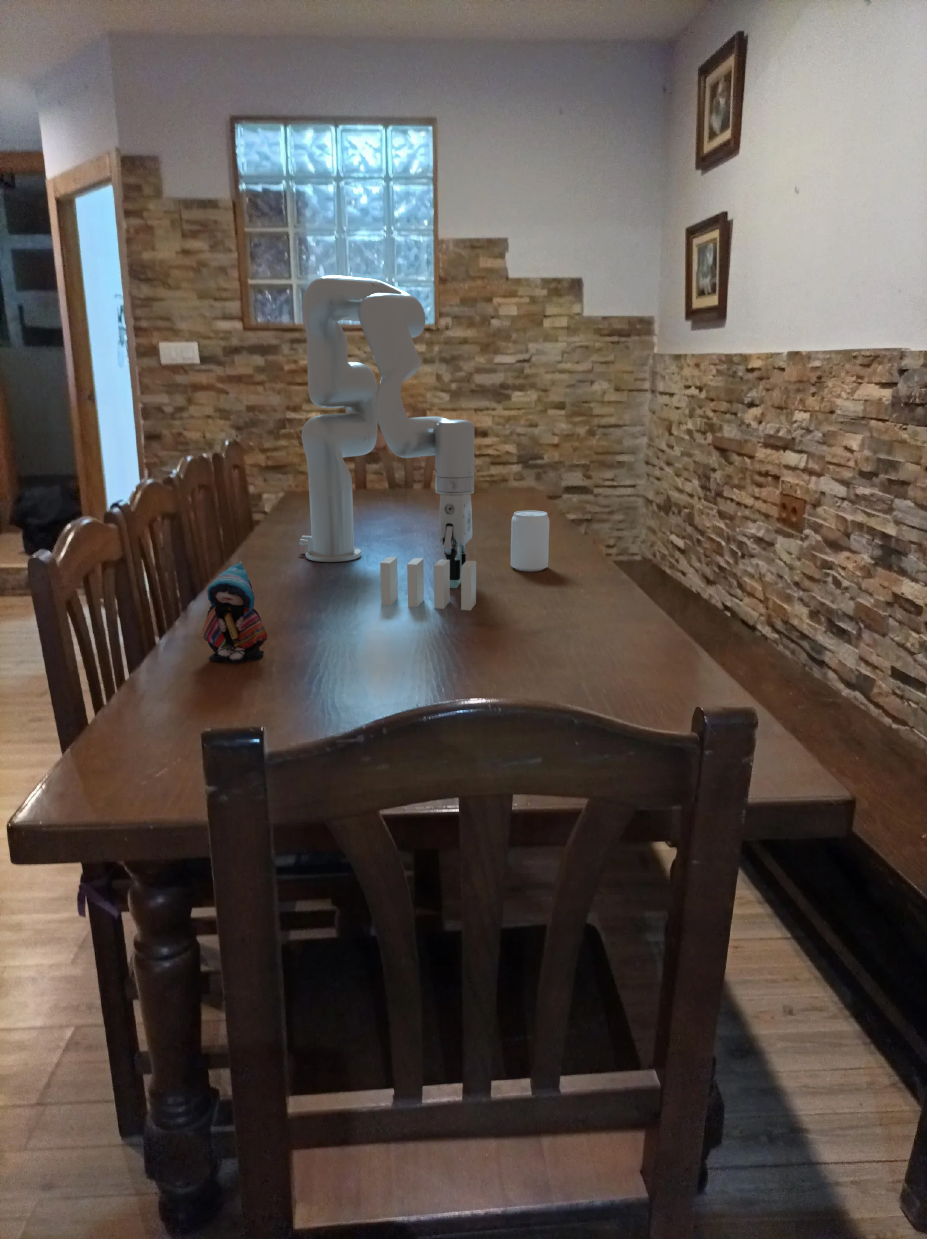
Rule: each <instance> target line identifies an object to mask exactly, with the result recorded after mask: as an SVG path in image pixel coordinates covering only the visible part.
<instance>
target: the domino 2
mask: <svg viewBox="0 0 927 1239" xmlns="http://www.w3.org/2000/svg"><path fill="white" fill-rule="evenodd" d="M424 567H425V566H424V558H423V557H421V558H419V557H418V558H417V557H414V558H412V559H411V560H410V561H409V562H408V563H406V571H407V573H406V575H407V581H406V582H407V608H418V607H420V605H421V604H422V603H423V601H424V600H425V593H424V592H425V589H424V588H425V582H424V581H425V579H424V578H425V577H424V576H425V574H424V572H425V571H424Z"/></svg>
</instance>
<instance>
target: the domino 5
mask: <svg viewBox="0 0 927 1239" xmlns="http://www.w3.org/2000/svg"><path fill="white" fill-rule="evenodd" d="M460 589H461V590H460V598H461V599H460V601H461V602H460V610H461V611H472V609H473V608H474V606H475V605H476V604H477V560H466V562H465V563H464V564H463V565H462V566H461V583H460Z"/></svg>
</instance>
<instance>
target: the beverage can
mask: <svg viewBox="0 0 927 1239" xmlns="http://www.w3.org/2000/svg"><path fill="white" fill-rule="evenodd" d="M550 522H551V521H550V518H549V516H548V512H547V511H543V510H532V509H531V510H518V511H515V512H513V516H512V517H511V523H510V524H511V529H510V531H511V532H510V534H511V535H510V567H512V568H513V569H515V570H517V571H520V572H530V573H531V572H540V571H543V570H545V569H547V568H548V566H549V555H550V554H549V553H550V552H549V548H550V547H549V546H550Z"/></svg>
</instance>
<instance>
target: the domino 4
mask: <svg viewBox="0 0 927 1239" xmlns="http://www.w3.org/2000/svg"><path fill="white" fill-rule="evenodd" d="M452 544H456V543H455V542H454V543H452ZM452 549H454V550H455V548H452ZM458 560H460V579H459V580H450V589H451V588H452V589H457V588H458V587H459V586H461V566H462V546H461V544H459V559H458Z"/></svg>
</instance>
